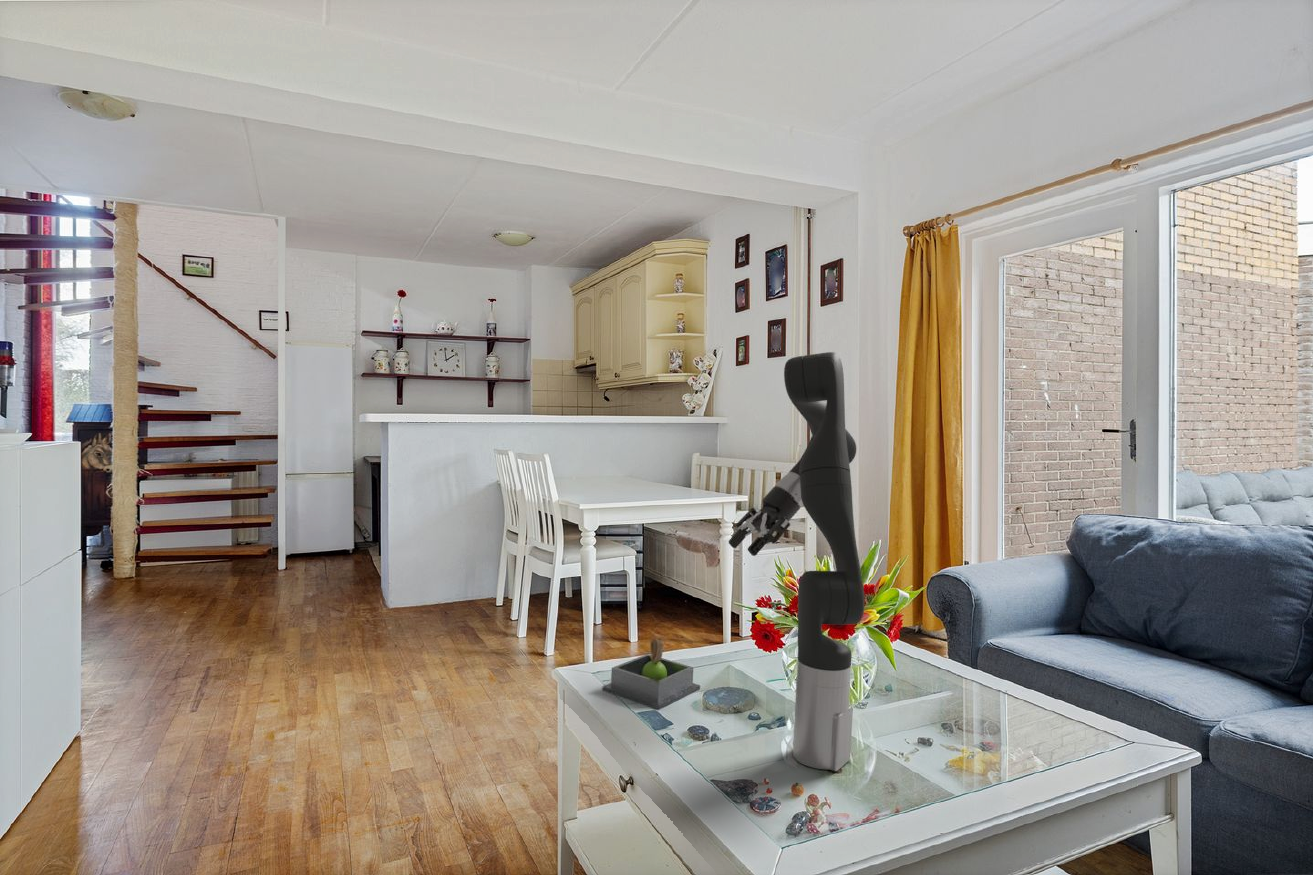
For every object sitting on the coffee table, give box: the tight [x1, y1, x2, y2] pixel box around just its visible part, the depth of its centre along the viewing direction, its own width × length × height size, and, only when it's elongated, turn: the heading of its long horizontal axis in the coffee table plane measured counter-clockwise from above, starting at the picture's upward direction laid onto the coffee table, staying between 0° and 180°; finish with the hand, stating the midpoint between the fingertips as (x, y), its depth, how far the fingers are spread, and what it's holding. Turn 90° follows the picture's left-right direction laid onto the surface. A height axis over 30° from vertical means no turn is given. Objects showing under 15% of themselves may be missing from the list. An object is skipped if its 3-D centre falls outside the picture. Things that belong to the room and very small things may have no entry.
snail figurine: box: [642, 635, 667, 681], centre depth 158 cm, size 5×6×12 cm
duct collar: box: [602, 653, 701, 710], centre depth 159 cm, size 15×15×5 cm
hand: (740, 549), depth 162 cm, fingers open, 8 cm apart
